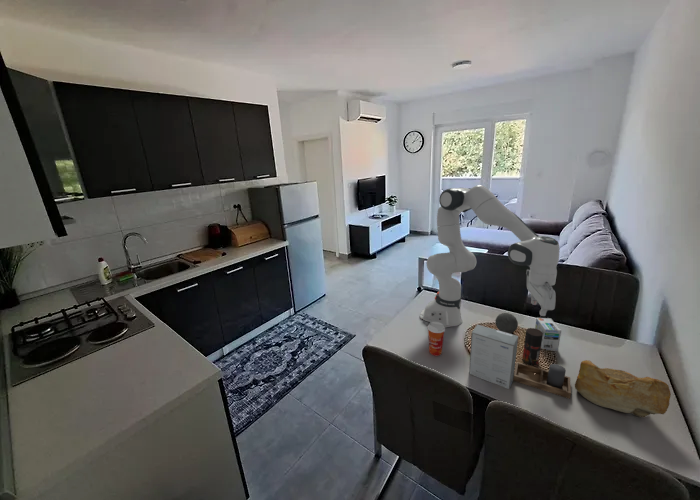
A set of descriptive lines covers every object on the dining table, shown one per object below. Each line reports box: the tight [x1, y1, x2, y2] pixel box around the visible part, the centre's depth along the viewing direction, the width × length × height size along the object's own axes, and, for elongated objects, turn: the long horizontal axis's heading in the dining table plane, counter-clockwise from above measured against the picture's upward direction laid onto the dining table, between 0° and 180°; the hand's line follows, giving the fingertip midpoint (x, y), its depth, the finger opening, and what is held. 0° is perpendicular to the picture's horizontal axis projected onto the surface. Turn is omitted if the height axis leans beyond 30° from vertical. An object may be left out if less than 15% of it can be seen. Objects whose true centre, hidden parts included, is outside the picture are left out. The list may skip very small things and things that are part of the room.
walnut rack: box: [513, 361, 572, 399], centre depth 114 cm, size 18×9×3 cm, turn 56°
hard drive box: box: [468, 324, 519, 390], centre depth 117 cm, size 16×8×20 cm, turn 50°
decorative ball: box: [494, 312, 519, 334], centre depth 147 cm, size 10×10×10 cm
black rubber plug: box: [547, 363, 566, 389], centre depth 111 cm, size 5×5×8 cm
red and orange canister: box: [426, 322, 446, 357], centre depth 134 cm, size 8×8×14 cm
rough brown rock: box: [574, 359, 672, 418], centre depth 103 cm, size 23×17×15 cm
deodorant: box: [521, 327, 543, 367], centre depth 124 cm, size 6×6×15 cm
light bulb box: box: [534, 317, 562, 352], centre depth 136 cm, size 11×7×11 cm, turn 168°
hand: (538, 309), depth 119 cm, fingers open, 8 cm apart
